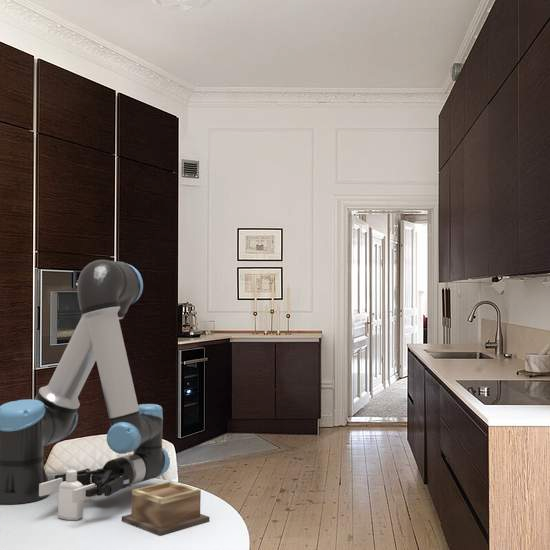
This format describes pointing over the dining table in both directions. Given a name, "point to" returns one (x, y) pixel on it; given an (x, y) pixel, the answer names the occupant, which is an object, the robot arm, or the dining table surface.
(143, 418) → the robot arm
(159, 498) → the display pedestal
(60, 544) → the dining table surface
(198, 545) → the dining table surface
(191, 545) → the dining table surface
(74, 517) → the eye dropper bottle
